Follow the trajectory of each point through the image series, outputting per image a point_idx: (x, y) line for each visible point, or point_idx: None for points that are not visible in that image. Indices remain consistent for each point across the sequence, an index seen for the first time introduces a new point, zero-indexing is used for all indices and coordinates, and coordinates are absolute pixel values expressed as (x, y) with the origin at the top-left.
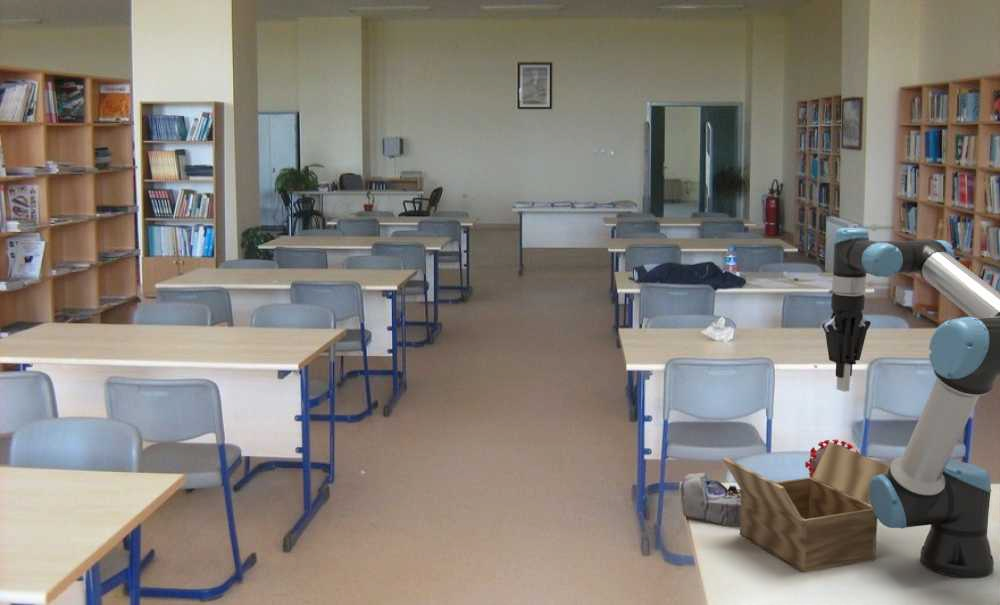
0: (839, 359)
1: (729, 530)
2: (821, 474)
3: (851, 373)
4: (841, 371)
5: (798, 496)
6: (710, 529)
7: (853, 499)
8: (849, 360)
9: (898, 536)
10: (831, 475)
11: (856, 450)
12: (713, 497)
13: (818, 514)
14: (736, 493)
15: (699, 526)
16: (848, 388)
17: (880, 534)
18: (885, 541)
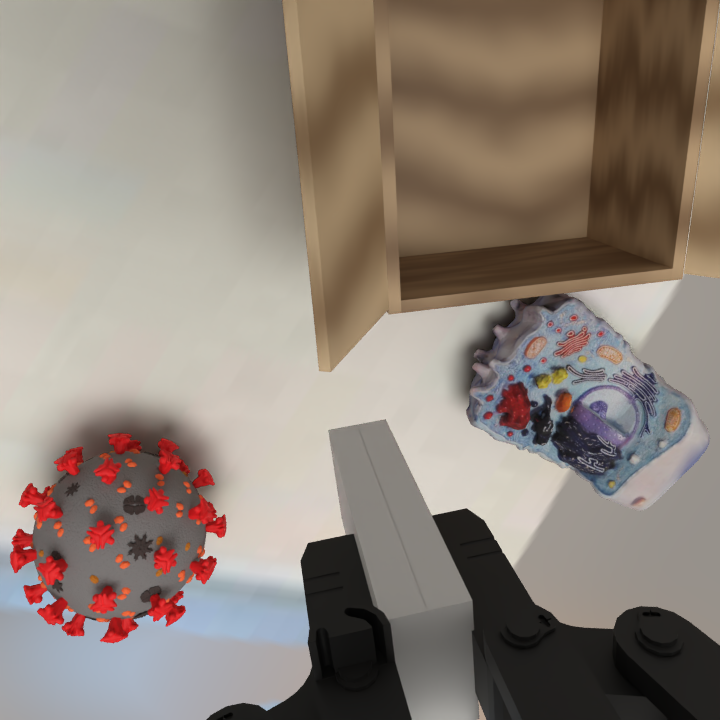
0: (638, 654)
1: None
2: (379, 275)
3: (306, 566)
4: (473, 559)
5: (432, 278)
6: (630, 304)
7: (387, 8)
8: (402, 687)
9: (123, 81)
10: (371, 222)
11: (16, 569)
12: (621, 391)
13: None
14: (542, 406)
15: (642, 331)
16: (342, 439)
17: (177, 119)
18: (196, 54)
